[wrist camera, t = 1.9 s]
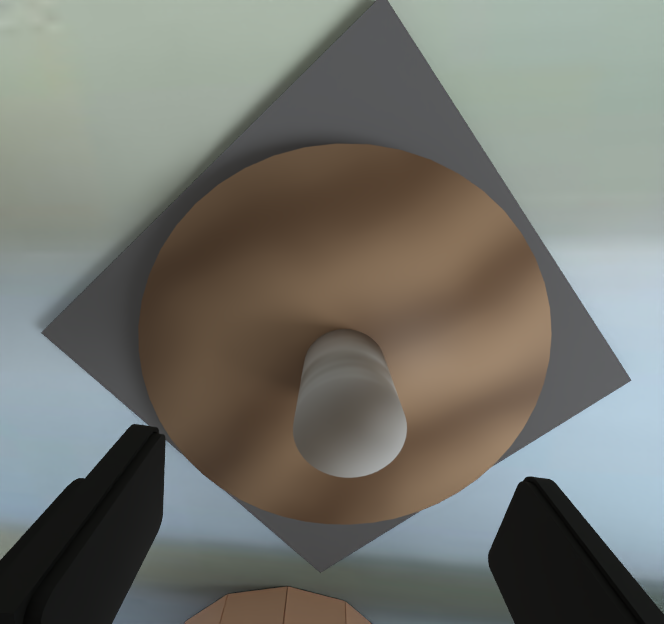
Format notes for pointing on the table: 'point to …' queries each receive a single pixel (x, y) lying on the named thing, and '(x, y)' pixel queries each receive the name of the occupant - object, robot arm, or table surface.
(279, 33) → the table surface
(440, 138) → the mat
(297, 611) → the bowl
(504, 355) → the lid
